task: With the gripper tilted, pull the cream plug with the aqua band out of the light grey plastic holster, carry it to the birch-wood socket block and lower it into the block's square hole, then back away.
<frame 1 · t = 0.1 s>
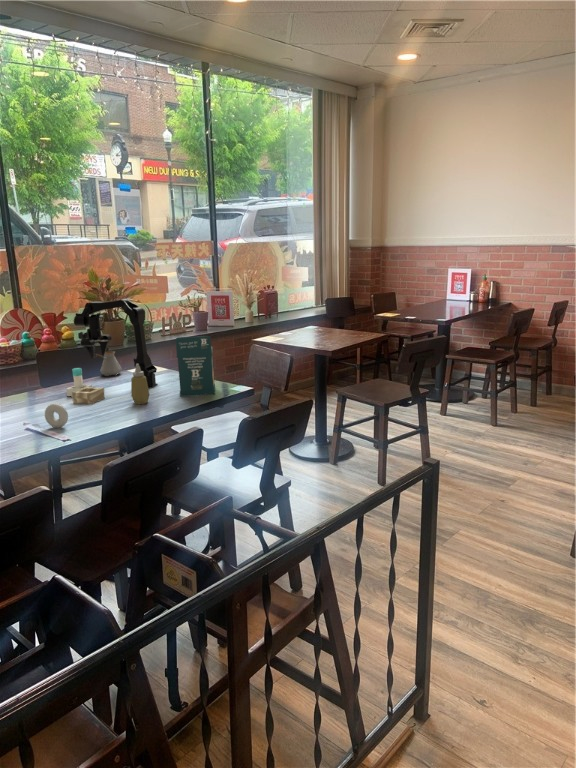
hand: (98, 356, 290), 15 cm above the table, tool pointing down, fingers open, 9 cm apart
donut: (58, 428, 223), on the table
holster: (80, 394, 272), on the table
coffee pot: (107, 377, 310), on the table
plug: (78, 381, 271), in the holster
socket block: (89, 400, 262), on the table
squeeze bottle: (141, 403, 255), on the table
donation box: (198, 391, 272), on the table
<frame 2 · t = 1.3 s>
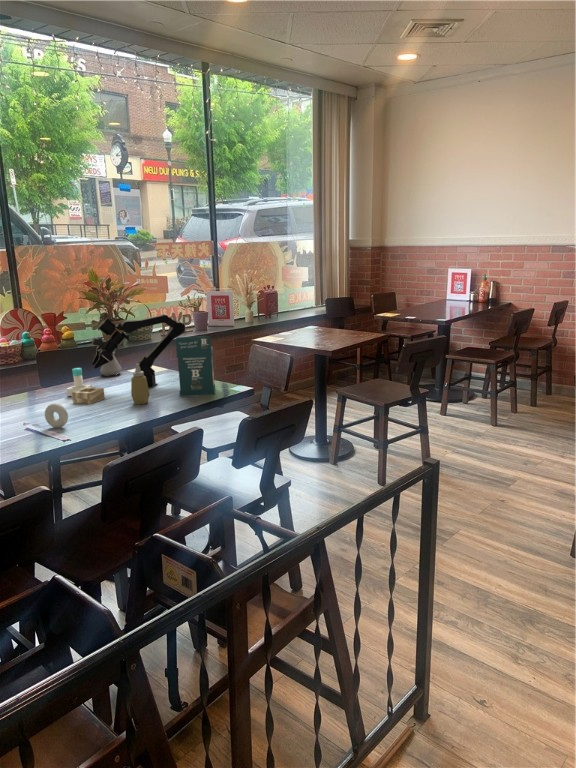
hand: (93, 366, 272), 13 cm above the table, tool tilted 45°, fingers open, 9 cm apart
nothing on the table moved.
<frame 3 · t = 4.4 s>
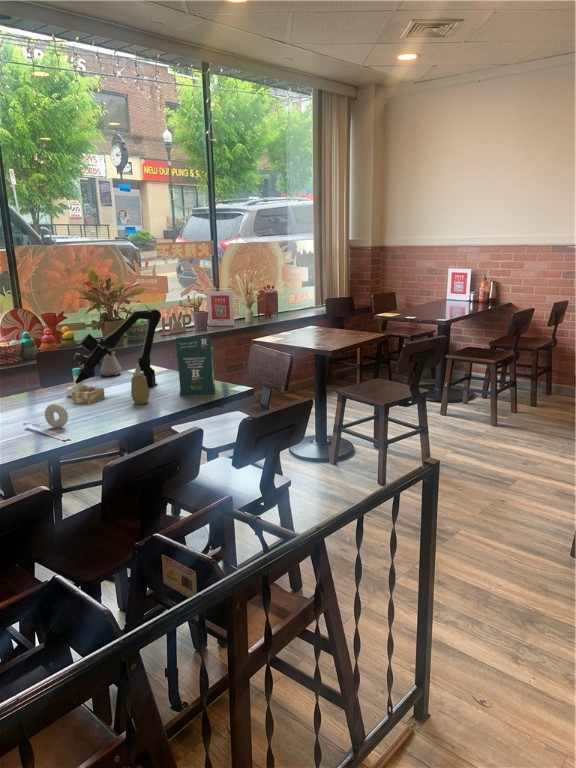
hand: (75, 382, 270), 7 cm above the table, tool tilted 45°, fingers closed on plug, 4 cm apart
plug: (78, 381, 271), in the holster, touching gripper
everything else where it was.
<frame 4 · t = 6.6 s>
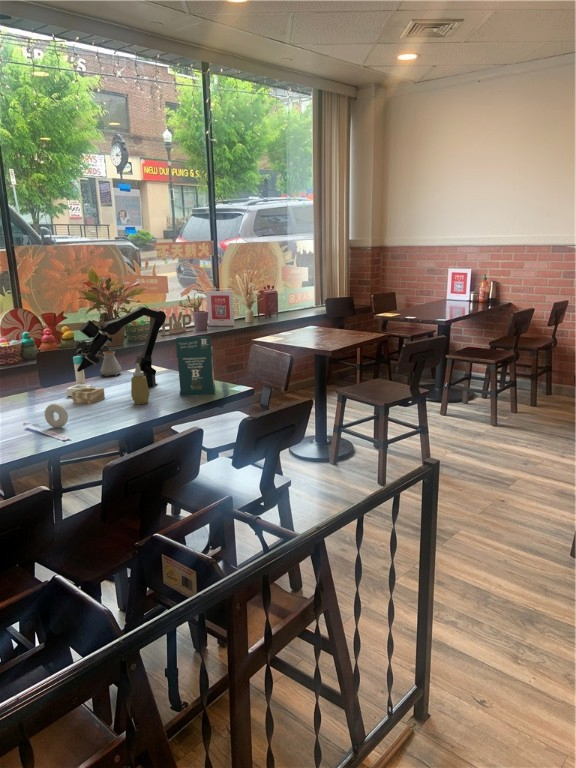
hand: (76, 370, 263), 13 cm above the table, tool tilted 45°, fingers closed on plug, 4 cm apart
plug: (79, 370, 264), point 13 cm above the table, touching gripper
everything else where it was.
when the fingers open (8 cm above the table, at t = 9.1 s): plug drops 2 cm, resting in socket block.
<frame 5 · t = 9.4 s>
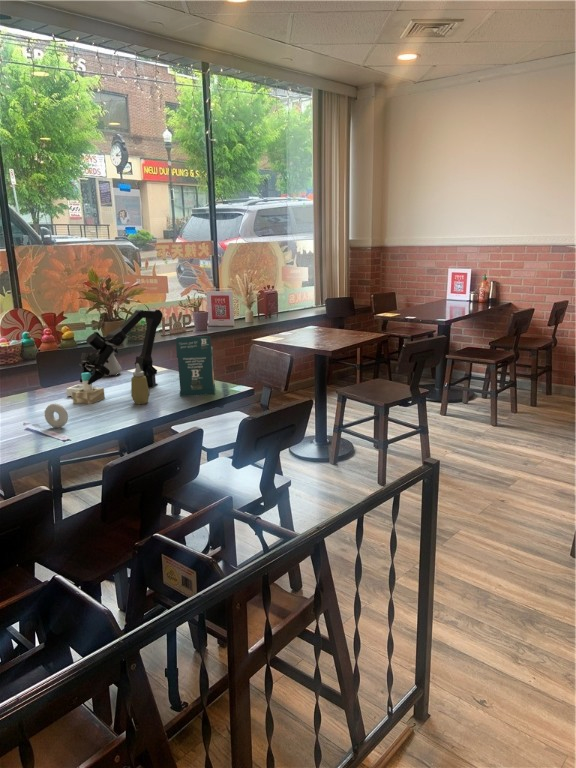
hand: (84, 383, 259), 9 cm above the table, tool tilted 45°, fingers open, 7 cm apart
plug: (87, 386, 260), in the socket block
everything else where it was.
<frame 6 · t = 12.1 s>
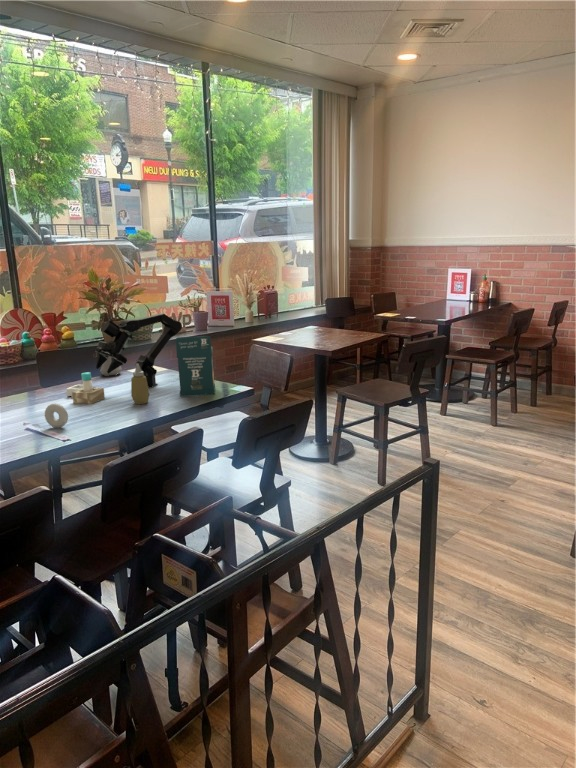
hand: (102, 370, 267), 12 cm above the table, tool tilted 40°, fingers open, 9 cm apart
nothing on the table moved.
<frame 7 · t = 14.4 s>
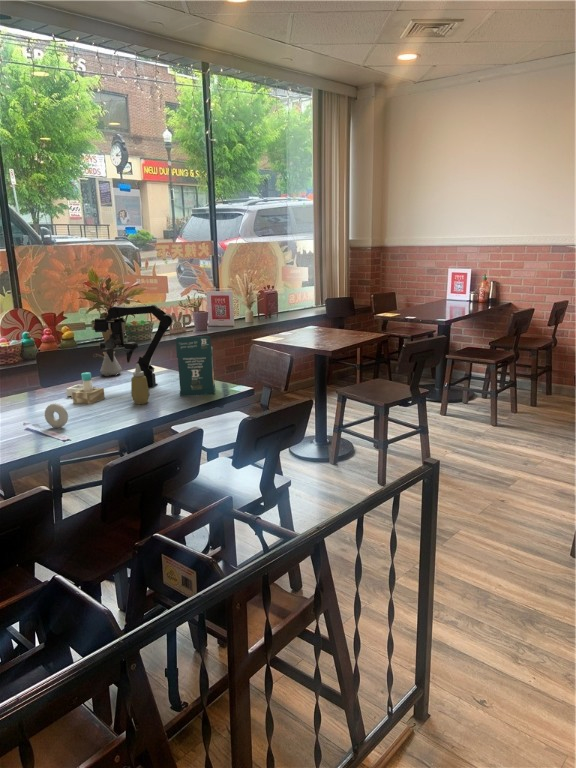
hand: (120, 362, 281), 13 cm above the table, tool pointing down, fingers open, 9 cm apart
nothing on the table moved.
at the end: plug 0.0 cm off-centre on the socket block, point 6.5 cm above the socket block's base; plug tilted 0°; the gripper is holding nothing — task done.
